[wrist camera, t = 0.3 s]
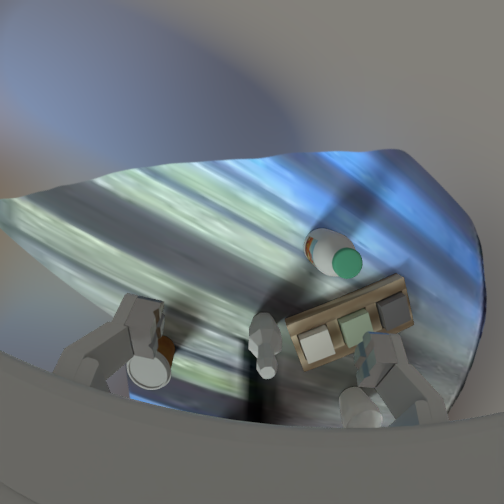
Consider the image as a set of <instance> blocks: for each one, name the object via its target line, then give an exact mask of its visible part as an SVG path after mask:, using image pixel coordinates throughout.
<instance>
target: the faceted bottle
mask: <svg viewBox="0 0 504 504" xmlns="http://www.w3.org/2000/svg"><path fill="white" fill-rule="evenodd" d="M281 347H282V337H281V332H280V329H279V327H278V326H277V324H276V322H275V320H274V319H273V317H272V316H271V315H270V314H269V313H259V314H257V315H256V316H255V317H253V320H252V322H251V325H250V327H249V350H250V351H251V352H252V353H253V354H254V355H255V357H256V358H258V359H257V371H258V372H259V374H260V375H261V376H262V377H263V378H264V379H270V378H272V377H274V376H275V374H276V372H277V366H278V363H277V360H276V358H275V355H276V354H278V353H279V352H281Z"/></svg>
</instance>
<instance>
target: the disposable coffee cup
mask: <svg viewBox="0 0 504 504" xmlns="http://www.w3.org/2000/svg"><path fill="white" fill-rule="evenodd" d="M174 353H175V346H174V343H173V342H172V341H171V339H169V338H168V337H166V336H163V335H162V337H161V338H160V339H159V340H158V349H157V352H156V355H155V358H154V359H149V358H144V357H140V356H135V355H134V357H133V358H131V359H130V360H129V361H128V362H127V372H128V374H129V376H130V378H131V380H132V381H133V382H134V383H135V384H137V385H138V386H140V387H142V388H144V389H148V390H156V389H159V388H161V387H163V386H165V385H166V384H167V383H168V382H169V380H170V378H171V366H172V361H173V357H174Z"/></svg>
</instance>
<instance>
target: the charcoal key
mask: <svg viewBox="0 0 504 504" xmlns="http://www.w3.org/2000/svg"><path fill="white" fill-rule="evenodd" d="M375 303H376V307H377V310H378V314H379V318H380V322H381V326H382V327H383V328H384V329H385V330H386V331H389V330H391V329H393V328H395V327H398V326H400V325H402V324H404V323H406V322H408V321H410V320H411V317H410V312H409V307H408V303H407V298H406V295H404V294H403V293H401V292H397V293H395V294H393V295H391V296H389V297H387V298H384V299H382V300H380V301H378V302H375Z"/></svg>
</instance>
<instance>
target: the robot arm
mask: <svg viewBox="0 0 504 504" xmlns="http://www.w3.org/2000/svg"><path fill="white" fill-rule="evenodd" d="M163 309H164V302H163V301H161V300H156V299H152V298H148V297H143V296H138V295H134V294H130V293H127V294H126V295H125V296H124V298H123V300H122V302H121V304H120V306H119V308H118V310H117V312H116V314H115V316H114V318H113V320H112V322H107V323H105V324H103V325H102V326H100V327H99V328H97V329H95V330H94V331H92V332H90V333H89V334H87V335H86V336H84V337H82V338H81V339H79V340H78V341H76V342H74V343H73V344H71V345H69V346H68V347H66V348H65V349H64V351H63V352H62V354H61V356H60V358H59V360H58V362H57V364H56V366H55V368H54V370H53V372H52V373H51V372H48V371H46V370H43V369H41V368H38V367H36V366H34V365H31V364H29V363H27V362H24V361H22V360H20V359H18V358H15V357H13V356H11V355H9V354H7V353H5V352H2V351H0V504H504V412H501V413H496V414H491V415H486V416H481V417H475V418H470V419H463V420H456V421H449V419H448V415H447V411H446V407H445V403H444V399H443V398H442V397H441V396H440V394H439V393H438V392H437V391H436V390H435V389H434V388H433V387H432V386H431V385H430V384H429V383H428V382H427V380H426V379H425V378H424V377H423V376H422V375H421V374H420V373H419V372H418V371H417V370H416V369H415V368H414V367H413V366H412V365H411V364H409V363H408V360H407V356H406V353H405V350H404V346H403V343H402V340H401V336H400V335H399V334H392V333H381V332H369V331H367V332H366V333H365V334H364V335H363V337H362V338H363V341H362V342H360V343H359V344H358V345H357V347H356V348H355V352H354V365H355V366H356V367H357V369H358V371H357V373H356V379H357V385H358V387H369V388H375V389H376V391H377V392H378V394H379V395H380V397H381V398H382V400H383V401H384V403H385V404H386V405H387V407H388V408H389V410H390V411H391V413H392V414H393V416H394V417H395V419H396V420H395V421H394V422H393V423H392V424H391V425H389V426H388V427H379V428H321V427H300V426H286V425H274V424H264V423H255V422H247V421H239V420H232V419H225V418H218V417H212V416H206V415H201V414H195V413H190V412H185V411H180V410H175V409H171V408H166V407H162V406H157V405H153V404H149V403H145V402H141V401H137V400H134V399H130V398H126V397H123V396H119V395H116V394H112V393H111V392H110V390H109V387H108V385H107V382H106V380H107V379H108V378H109V377H110V376H111V375H113V374H114V373H115V372H116V371H117V370H118V369H119V368H121V367H122V366H123V365H124V364H126V363H127V362H128V361H129V360H130V359H131V358H133V357H134V355H135V356H140V357H144V358H149V359H154V358H155V355H156V352H157V349H158V340H159V339H160V338H161V337H162V334H163V330H164V324H165V315H164V314H163V313H162V312H163Z"/></svg>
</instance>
